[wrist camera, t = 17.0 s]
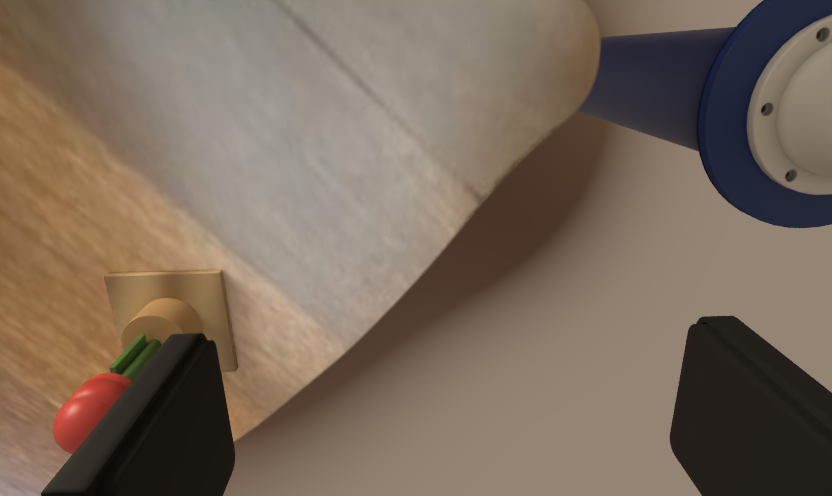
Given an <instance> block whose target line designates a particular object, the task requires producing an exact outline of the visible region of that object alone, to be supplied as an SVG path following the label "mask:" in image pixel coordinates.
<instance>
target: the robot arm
mask: <svg viewBox="0 0 832 496" xmlns="http://www.w3.org/2000/svg"><path fill="white" fill-rule="evenodd" d="M747 136H748V143H749V147H750V150H751V152H752V155H753V157H754V160H755V161H756V163H757V164H758V166H759V167H760V169H761V170H762V171H763V172H764V173H765V174H766V175H767V176H768V177H769V178H770V179H771V180H773V181H774V182H776V183H778V184H780V185H782V186H784V187H786V188H789V189H792V190H795V191H797V192H801V193H807V194H812V195H826V194H832V15H829V16H827V17H825V18H822V19H820V20H818V21H815V22H813V23H812V24H810V25H809V26H807V27H805V28H804V29H802V30H801V31H799V32H797V33H796V34H795V35H794V36H793V37H792V38H791V39H789V40H788V41H787V42H786V43H785V44H784V45H783V46H782V47H781V48H780V49H779V50H778V51H777V52H776V54H775V55H774V56H773V57H772V58H771V60H770V61H769V62H768V64H767V65H766V67H765V69H764V70H763V72H762V74H761V75H760V77H759V79H758V81H757V83H756V86H755V88H754V91H753V93H752V95H751V100H750V104H749V108H748V112H747ZM670 443H671V448H672V450H673V453H674V455H675V456H676V458H677V459H678V461H679V462H680V464H681V465H682V467H683V468H684V470H685V471H686V473H687V474H688V475H689V477H690V478H691V480H692V481H693V483H694V484H695V486H696V487H697V489H698V490H699V492H700V493H701V494H702V496H832V393H831V392H830V391H829V390H827V389H826V388H825V387H824V386H822V385H821V384H820V383H819V382H817V381H816V380H815V379H814V378H812V377H811V376H810V375H808V374H807V373H806V372H805V371H803V370H802V369H801V368H799V367H798V366H797V365H796V364H794V363H793V362H792V361H791V360H789V359H788V358H787V357H785V356H784V355H783V354H782V353H781V352H779V351H778V350H777V349H775V348H774V347H773V346H772V345H770V344H769V343H768V342H767V341H765V340H764V339H763V338H761V337H760V336H759V335H758V334H756V333H755V332H754V331H753V330H751V329H750V328H749V327H748V326H746V325H745V324H744V323H743V322H741V321H740V320H739V319H738V318H736V317H734V316H711V317H701V318H700V319H699V320H698V321H697V323H696V324H693V325H691V326H690V328H689V330H688V335H687V340H686V346H685V353H684V357H683V363H682V369H681V375H680V381H679V386H678V392H677V398H676V403H675V409H674V415H673V420H672V427H671V432H670ZM234 463H235V450H234V444H233V438H232V432H231V426H230V421H229V415H228V409H227V403H226V398H225V392H224V386H223V381H222V375H221V369H220V363H219V358H218V352H217V347H216V344H215V342H214V341H213V340H207V338H206V336H205V335H204V334H203V333H189V334H172V335H170V336H169V337H168V338H167V340H166V341H165V342H164V343H163V345H162V346H161V347H160V348H159V349H158V351H157V352H156V353H155V354H154V356H153V357H152V358H151V359H150V360H149V362H148V363H147V364H146V365H145V367H144V368H143V369H142V370H141V371H140V373H139V374H138V375H137V376H136V378H135V379H134V380H133V381H132V382H131V384H130V385H129V386H128V387H127V389H126V390H125V391H124V392H123V393H122V395H121V396H120V397H119V398H118V400H117V401H116V402H115V403H114V404H113V406H112V407H111V408H110V409H109V411H108V412H107V413H106V414H105V415H104V417H103V418H102V419H101V420H100V422H99V423H98V424H97V425H96V426H95V428H94V429H93V430H92V431H91V433H90V434H89V435H88V436H87V437H86V439H85V440H84V441H83V442H82V444H81V445H80V446H79V447H78V448H77V450H76V451H75V452H74V453H73V455H72V456H71V457H70V458H69V459H68V461H67V462H66V463H65V464H64V466H63V467H62V468H61V469H60V470H59V472H58V473H57V474H56V475H55V477H54V478H53V479H52V480H51V481H50V483H49V484H48V485H47V486H46V488H45V489H44V490H43V491H42V492H41V495H42V496H223V494H224V491H225V489H226V486H227V484H228V481H229V479H230V476H231V474H232V471H233V468H234Z"/></svg>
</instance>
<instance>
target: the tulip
mask: <svg viewBox="0 0 832 496" xmlns="http://www.w3.org/2000/svg"><path fill="white" fill-rule="evenodd" d="M202 330H203V328H202V322H201V320H200V317H199V316H198V314H197V313H196V311H195V310H194V309H193V308H192V307H190V306H189V305H188V304H186V303H184V302H182V301H180V300H177V299H172V298H161V299H157V300H154V301H152V302H150V303H149V304H147V305H146V306H145V307H144V308H143V309H142V310H141V311H140V312H139V313H138V314H137V315H136V316H135V317H134V318H133V319H132V320H131V321H130V322H129V323H128V324H127V325H126V327H125V328H124V330H123V333H122V338H121V342H122V347H123V350H124V352H123V353H122V355H121V356H120V357H119V358H118V359H117V360H116V361H115V362H114V363H113V364H112V365H111V366H110V372H111V373H106V374H101V375H97V376H95V377H93V378H91V379H89V380H88V381H87V382H86V383H84V384H83V385H82V386H81V387H80V388H79V389H78V390H77V391H76V392H75V393H74V394H73V396H72V397H71V398H70V399H69V400H68V401H67V402H66V403H65V404H64V405H63V406H62V407H61V409H60V410H59V411H58V413H57V415H56V417H55V420H54V423H53V434H54V438H55V440H56V442H57V444H58V445H59V446H60V447H61V448H62V449H63V450H65V451H67V452H69V453H71V454H73V453H74V452H75V451H76V450H77V448H78V447H79V446H80V445H81V444H82V442H83V441H84V440H85V439H86V437H87V436H88V435H89V434H90V433H91V431H92V430H93V429H94V428H95V426H96V425H97V424H98V423H99V422H100V420H101V419H102V418H103V417H104V415H105V414H106V413H107V412H108V411H109V409H110V408H111V407H112V406H113V404H114V403H115V402H116V401H117V400H118V398H119V397H120V396H121V395H122V393H123V392H124V391H125V390H126V389H127V387H128V386H129V385H130V384H131V382H132V381H133V380H134V379H135V378H136V376H137V375H138V374H139V373H140V371H141V370H142V369H143V368H144V367H145V365H146V364H147V363H148V362H149V360H150V359H151V358H152V357H153V356H154V354H155V353H156V352H157V351H158V349H159V348H160V347H161V346H162V345H163V343H164V342H165V341H166V340H167V338H168V337H169V336H170V335H172V334H189V333H202Z"/></svg>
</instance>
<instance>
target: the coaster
mask: <svg viewBox="0 0 832 496" xmlns="http://www.w3.org/2000/svg"><path fill="white" fill-rule="evenodd" d="M104 279H105V284H106V288H107V292H108V296H109V300H110V304H111V308H112V312H113V316H114V320H115V324H116V328H117V332H118V336H119V340H120V345H121V349H122V353H123V352H124V350H123V347H122V342H121V338H122V333H123V330H124V328H125V327H126V325H127V324H128V323H129V322H130V321H131V320H132V319H133V318H134V317H135V316H136V315H137V314H138V313H139V312H140V311H141V310H142V309H143V308H144V307H145V306H146V305H147V304H149V303H150V302H152V301H154V300H157V299H161V298H172V299H177V300H180V301H182V302H184V303H186V304H188V305H189V306H190V307H192V308H193V309H194V310H195V311H196V313H197V314H198V316H199V317H200V320H201V322H202V328H203V330H202V333H203V334H204V335H205V336H206V338H207V340H213V341H214V342H215V344H216V347H217V352H218V358H219V363H220V369H221V372H230V371H236V370H237V368H238V366H237V360H236V354H235V347H234V341H233V335H232V329H231V323H230V316H229V310H228V304H227V298H226V292H225V285H224V279H223V273H222V270H205V271H172V272H140V273H108V274H106V275H105V276H104Z"/></svg>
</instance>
